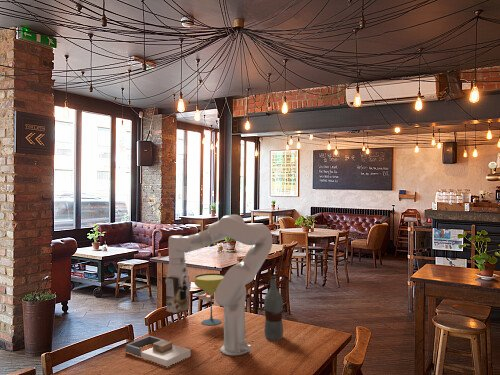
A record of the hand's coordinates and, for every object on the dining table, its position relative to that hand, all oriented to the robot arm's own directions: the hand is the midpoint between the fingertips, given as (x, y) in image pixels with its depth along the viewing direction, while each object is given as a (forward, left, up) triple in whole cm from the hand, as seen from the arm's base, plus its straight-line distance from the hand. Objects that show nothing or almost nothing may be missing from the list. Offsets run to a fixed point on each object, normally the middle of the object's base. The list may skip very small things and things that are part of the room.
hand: (177, 298), depth 204 cm
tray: (+4, +17, -21) cm, 27 cm away
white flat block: (-10, +17, -21) cm, 29 cm away
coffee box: (0, 0, -6) cm, 6 cm away
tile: (-8, +17, -18) cm, 26 cm away
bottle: (-36, -30, -21) cm, 51 cm away
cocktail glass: (+5, -31, -21) cm, 38 cm away
